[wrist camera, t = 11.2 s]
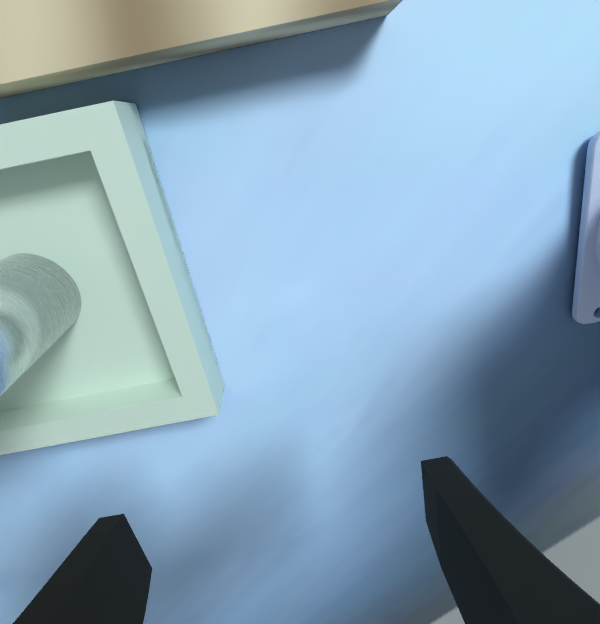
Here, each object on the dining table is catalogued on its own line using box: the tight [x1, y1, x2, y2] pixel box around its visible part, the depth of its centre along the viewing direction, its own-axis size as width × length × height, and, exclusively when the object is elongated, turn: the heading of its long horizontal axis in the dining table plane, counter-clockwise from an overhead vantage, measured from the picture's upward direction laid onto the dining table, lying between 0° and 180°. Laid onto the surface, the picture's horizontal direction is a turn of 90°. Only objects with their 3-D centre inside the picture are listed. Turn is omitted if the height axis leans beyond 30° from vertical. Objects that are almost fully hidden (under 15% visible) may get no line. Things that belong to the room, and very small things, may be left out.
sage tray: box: [0, 101, 225, 455], centre depth 16 cm, size 12×12×2 cm
